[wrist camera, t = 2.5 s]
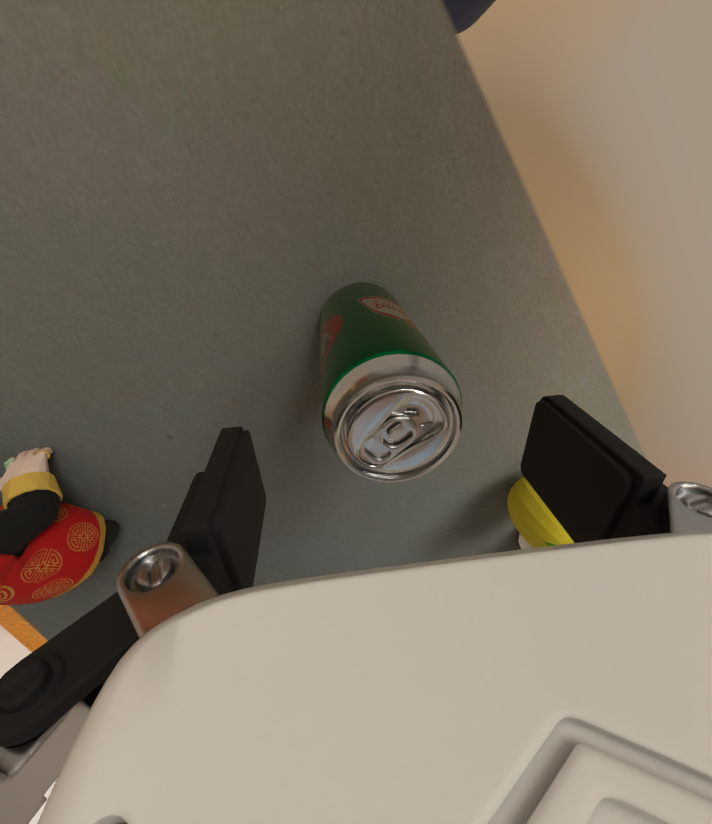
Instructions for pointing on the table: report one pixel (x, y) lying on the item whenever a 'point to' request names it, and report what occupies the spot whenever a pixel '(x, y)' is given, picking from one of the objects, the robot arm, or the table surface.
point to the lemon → (534, 517)
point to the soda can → (384, 388)
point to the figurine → (45, 533)
